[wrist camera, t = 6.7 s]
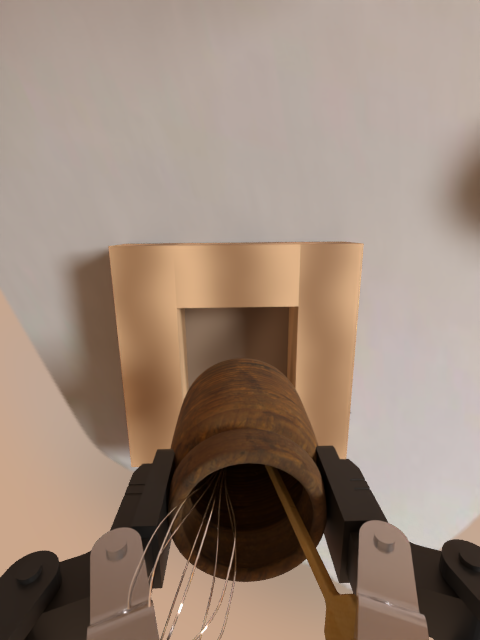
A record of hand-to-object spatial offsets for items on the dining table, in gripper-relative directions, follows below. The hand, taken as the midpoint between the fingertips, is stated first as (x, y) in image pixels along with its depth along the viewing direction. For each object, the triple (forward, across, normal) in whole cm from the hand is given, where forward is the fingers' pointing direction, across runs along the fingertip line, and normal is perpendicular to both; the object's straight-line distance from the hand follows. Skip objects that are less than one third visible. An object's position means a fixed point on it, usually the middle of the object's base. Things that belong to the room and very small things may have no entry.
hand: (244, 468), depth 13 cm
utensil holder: (+5, 0, 0) cm, 5 cm away
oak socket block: (+15, 0, 0) cm, 15 cm away
